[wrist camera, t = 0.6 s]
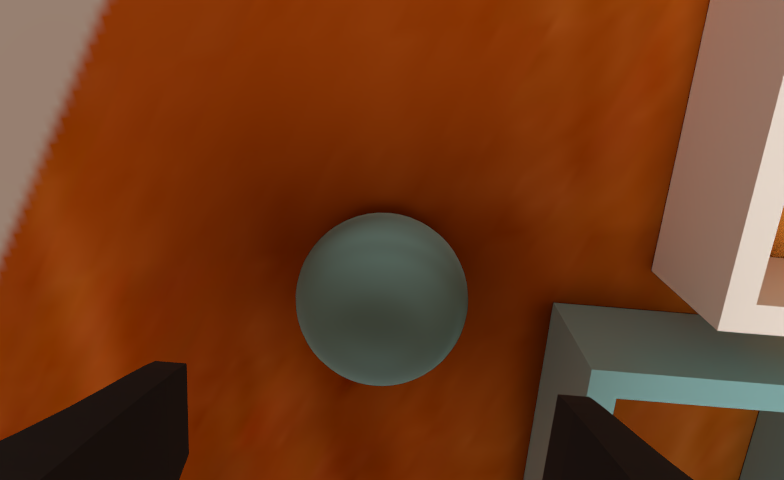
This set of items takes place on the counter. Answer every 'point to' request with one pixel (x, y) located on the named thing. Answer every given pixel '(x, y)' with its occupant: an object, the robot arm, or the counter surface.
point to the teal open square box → (661, 373)
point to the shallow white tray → (730, 174)
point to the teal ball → (381, 299)
